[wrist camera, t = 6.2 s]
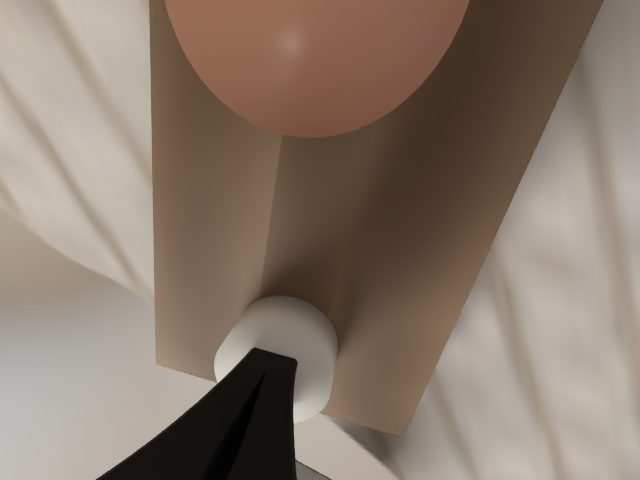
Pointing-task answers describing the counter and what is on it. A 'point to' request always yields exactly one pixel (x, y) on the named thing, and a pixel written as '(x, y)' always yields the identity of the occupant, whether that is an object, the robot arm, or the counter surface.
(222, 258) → the rack
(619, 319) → the counter surface
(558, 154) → the counter surface
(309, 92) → the knob middle
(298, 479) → the medicine box
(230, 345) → the knob
